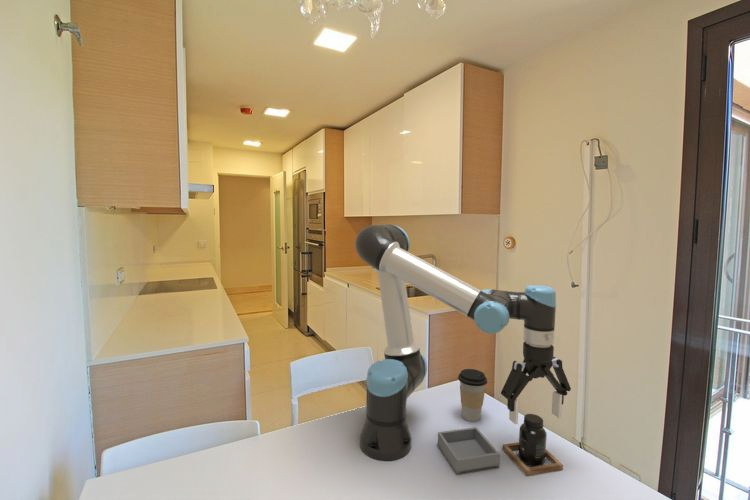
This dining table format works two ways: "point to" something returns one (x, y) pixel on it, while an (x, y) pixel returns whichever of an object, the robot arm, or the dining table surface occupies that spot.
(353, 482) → the dining table surface
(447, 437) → the bin
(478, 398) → the coffee cup
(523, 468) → the wooden square frame
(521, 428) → the supplement bottle
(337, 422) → the dining table surface
